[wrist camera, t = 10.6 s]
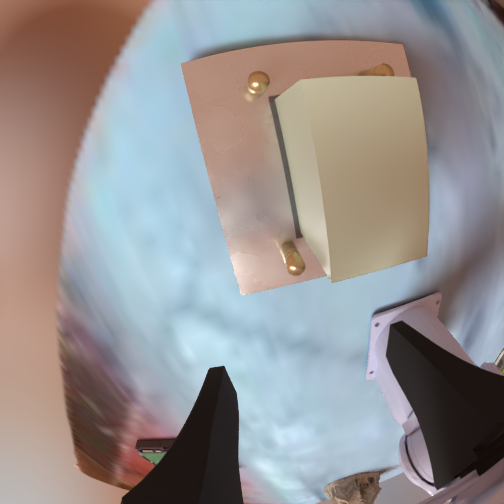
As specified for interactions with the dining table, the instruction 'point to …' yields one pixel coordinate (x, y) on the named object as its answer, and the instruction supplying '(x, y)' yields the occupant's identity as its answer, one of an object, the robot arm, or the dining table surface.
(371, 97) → the block
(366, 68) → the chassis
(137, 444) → the disk drive
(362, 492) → the ceramic cottage
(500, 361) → the coffee can
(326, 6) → the dining table surface
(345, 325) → the dining table surface
